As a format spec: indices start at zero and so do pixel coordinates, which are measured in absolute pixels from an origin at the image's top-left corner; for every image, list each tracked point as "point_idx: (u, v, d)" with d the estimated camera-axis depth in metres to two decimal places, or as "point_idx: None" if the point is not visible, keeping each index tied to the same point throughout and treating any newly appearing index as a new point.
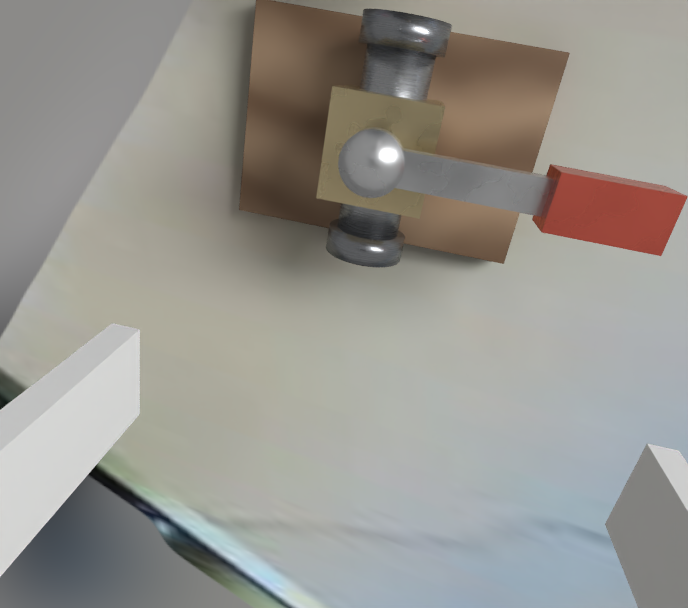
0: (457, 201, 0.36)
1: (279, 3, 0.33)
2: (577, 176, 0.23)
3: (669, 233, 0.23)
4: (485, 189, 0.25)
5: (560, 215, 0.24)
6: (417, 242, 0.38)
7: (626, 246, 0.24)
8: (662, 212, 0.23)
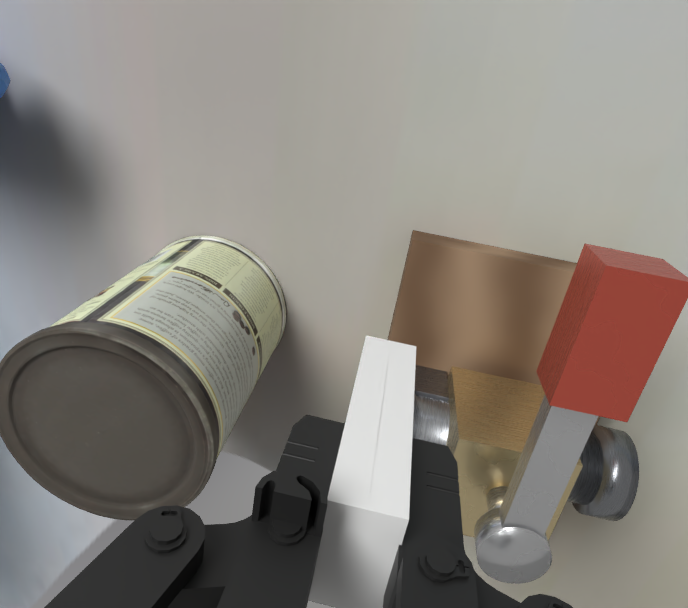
0: None
1: None
2: (557, 389, 0.19)
3: (658, 278, 0.17)
4: (558, 458, 0.21)
5: (607, 403, 0.19)
6: None
7: (669, 326, 0.17)
8: (624, 291, 0.17)
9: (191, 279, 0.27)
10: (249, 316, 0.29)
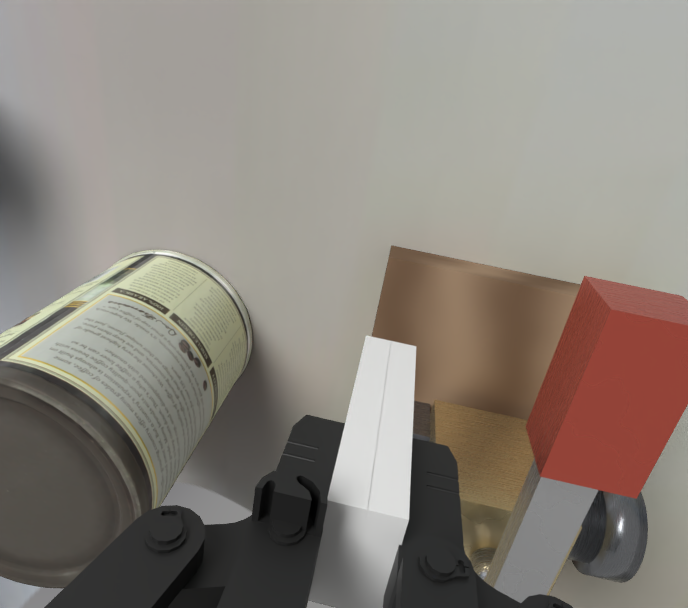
0: None
1: None
2: (550, 458, 0.15)
3: (679, 326, 0.13)
4: (552, 532, 0.17)
5: (611, 476, 0.15)
6: None
7: None
8: (635, 341, 0.13)
9: (131, 304, 0.24)
10: (201, 345, 0.25)
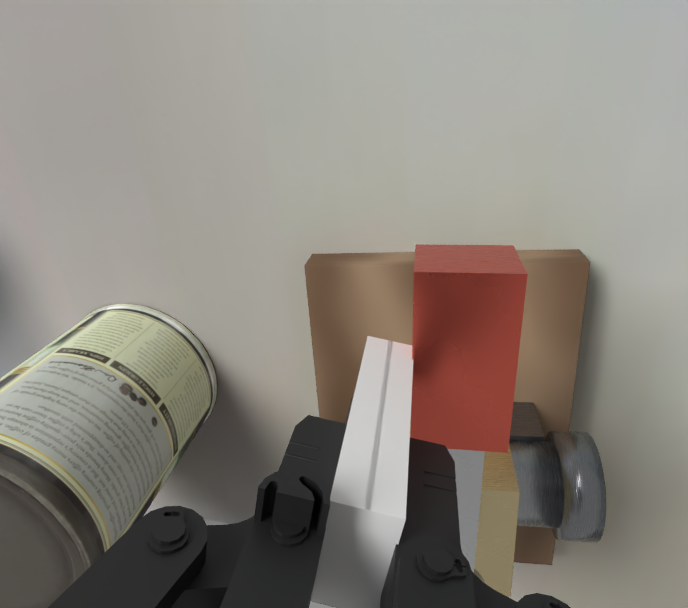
0: None
1: None
2: (413, 426, 0.15)
3: (481, 276, 0.13)
4: None
5: (476, 434, 0.15)
6: (569, 378, 0.27)
7: (516, 331, 0.14)
8: (447, 298, 0.13)
9: (71, 360, 0.26)
10: (146, 385, 0.27)
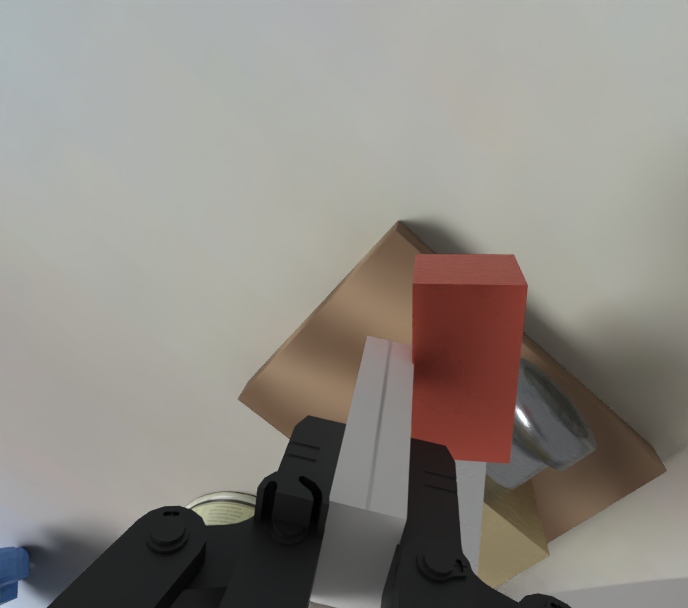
0: (408, 335, 0.28)
1: None
2: (413, 437, 0.15)
3: (481, 287, 0.13)
4: None
5: (477, 445, 0.15)
6: None
7: (517, 342, 0.13)
8: (446, 310, 0.13)
9: None
10: None
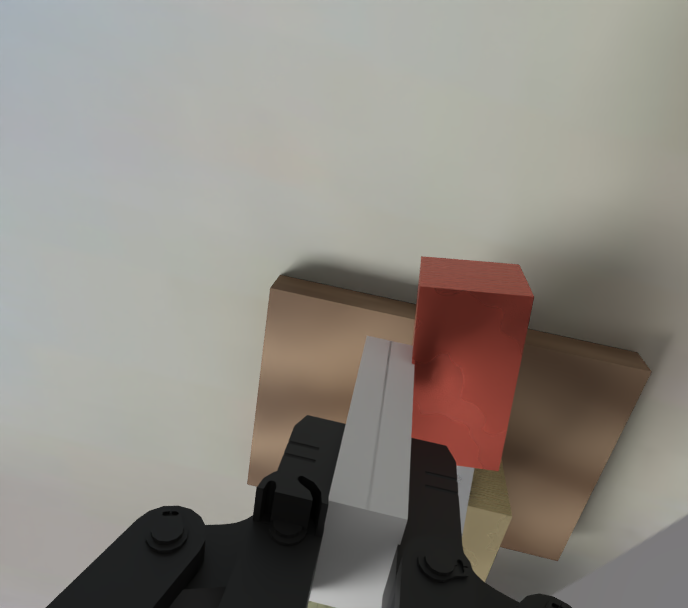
0: (338, 365, 0.29)
1: (533, 554, 0.32)
2: None
3: (487, 295, 0.13)
4: None
5: (468, 451, 0.15)
6: (387, 318, 0.27)
7: (517, 353, 0.13)
8: (451, 315, 0.13)
9: None
10: None
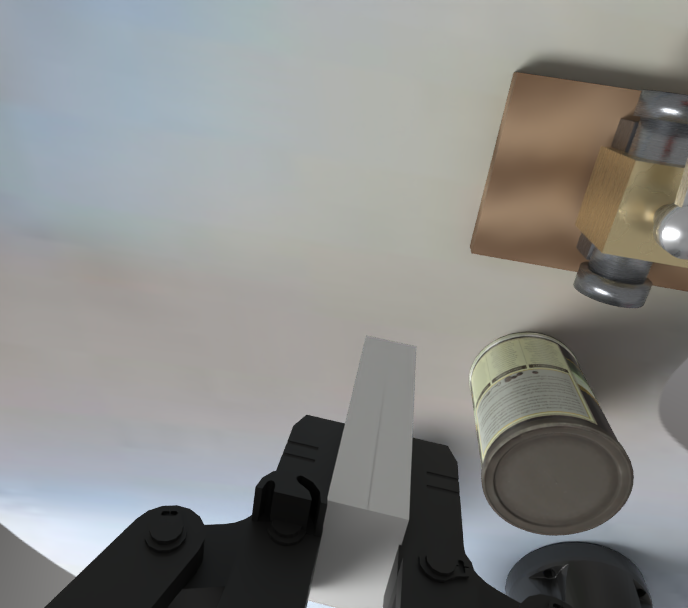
0: (562, 135, 0.39)
1: None
2: None
3: None
4: None
5: None
6: (606, 89, 0.37)
7: None
8: None
9: (481, 401, 0.44)
10: (512, 369, 0.43)
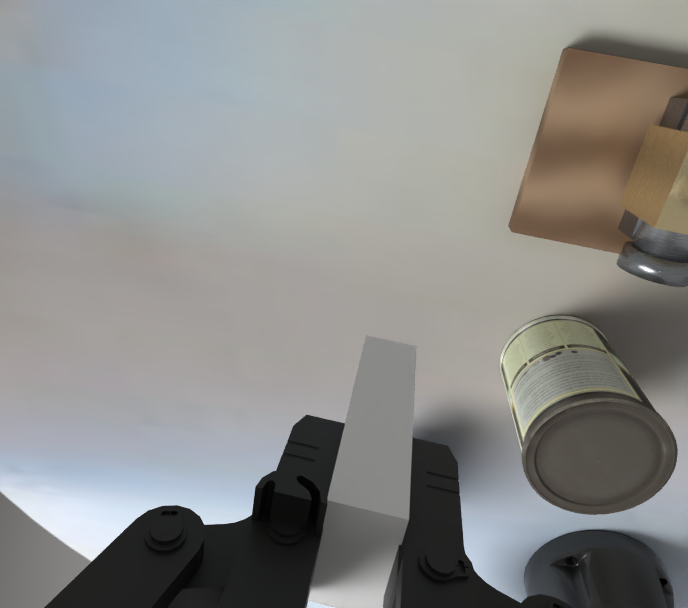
0: (610, 113, 0.39)
1: None
2: None
3: None
4: None
5: None
6: (658, 68, 0.37)
7: None
8: None
9: (517, 380, 0.43)
10: (550, 349, 0.43)
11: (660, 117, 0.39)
